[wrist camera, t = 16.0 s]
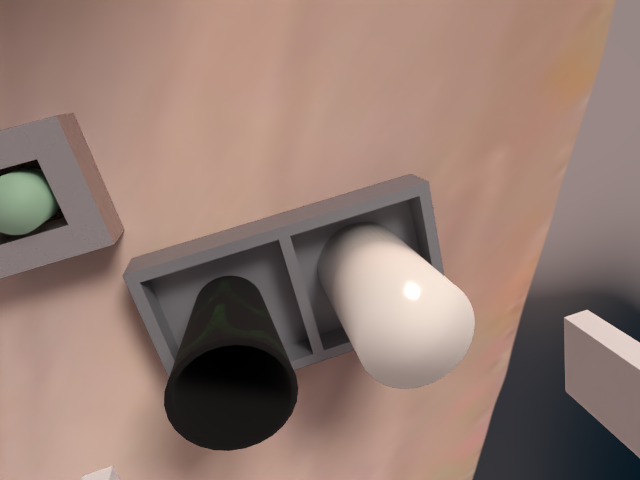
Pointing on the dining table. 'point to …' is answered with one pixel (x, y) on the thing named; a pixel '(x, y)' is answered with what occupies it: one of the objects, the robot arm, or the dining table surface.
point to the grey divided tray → (279, 267)
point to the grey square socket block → (58, 195)
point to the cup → (230, 370)
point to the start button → (25, 201)
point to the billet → (394, 306)
